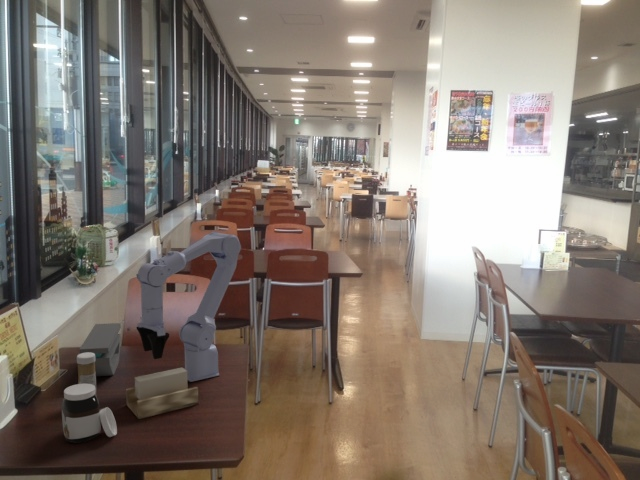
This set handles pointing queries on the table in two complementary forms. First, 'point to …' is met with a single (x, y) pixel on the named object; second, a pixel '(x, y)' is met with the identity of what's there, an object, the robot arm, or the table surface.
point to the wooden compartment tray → (161, 402)
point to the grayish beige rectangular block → (160, 383)
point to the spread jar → (85, 414)
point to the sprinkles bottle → (86, 369)
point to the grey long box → (104, 347)
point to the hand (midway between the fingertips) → (152, 354)
